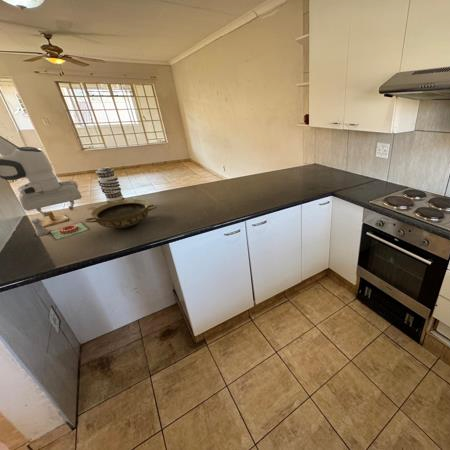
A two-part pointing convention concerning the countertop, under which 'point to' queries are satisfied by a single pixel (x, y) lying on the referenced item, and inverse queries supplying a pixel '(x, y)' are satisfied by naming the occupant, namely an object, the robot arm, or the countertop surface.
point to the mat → (58, 235)
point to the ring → (65, 231)
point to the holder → (53, 219)
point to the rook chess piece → (39, 227)
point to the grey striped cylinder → (109, 184)
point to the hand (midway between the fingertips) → (59, 212)
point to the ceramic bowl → (121, 213)
